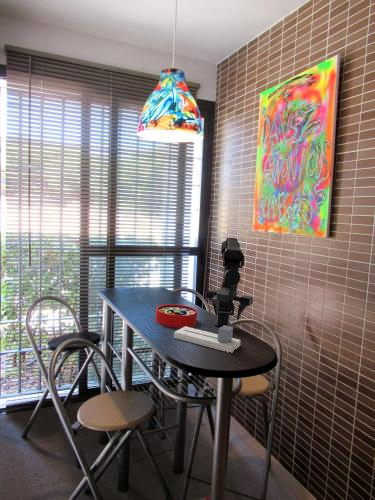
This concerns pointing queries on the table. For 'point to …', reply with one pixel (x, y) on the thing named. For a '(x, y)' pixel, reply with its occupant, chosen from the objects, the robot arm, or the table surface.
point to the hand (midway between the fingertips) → (226, 318)
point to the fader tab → (225, 334)
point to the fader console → (205, 339)
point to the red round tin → (176, 315)
